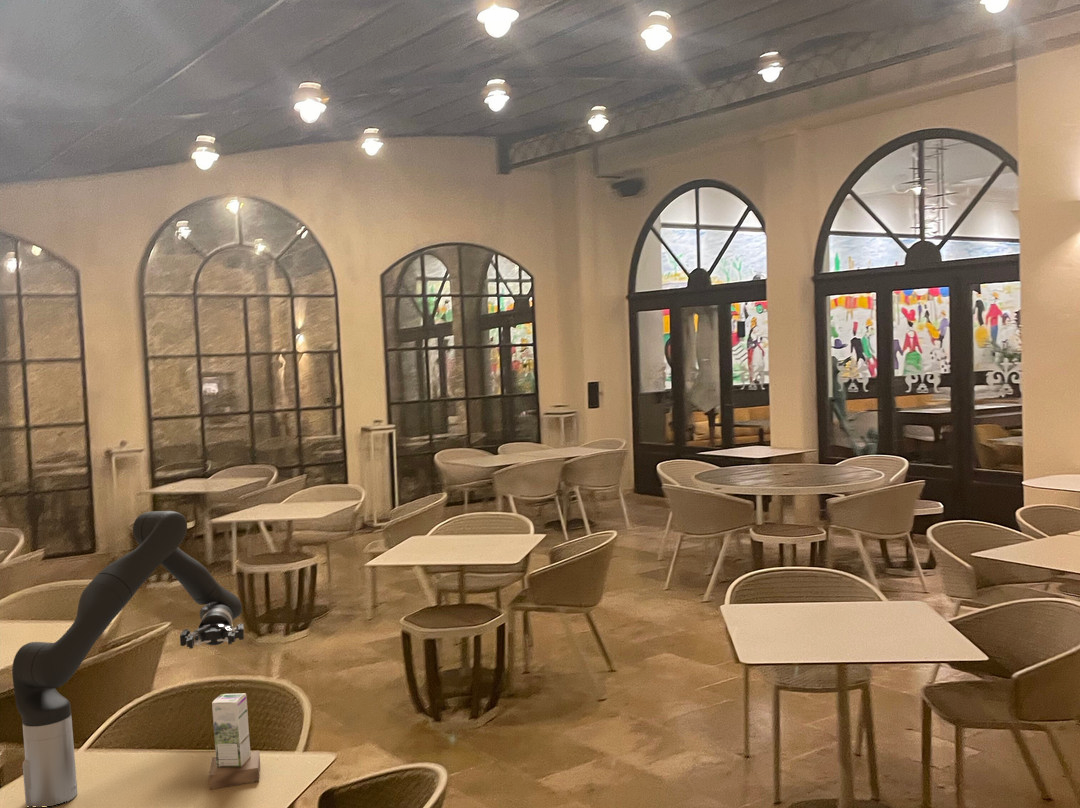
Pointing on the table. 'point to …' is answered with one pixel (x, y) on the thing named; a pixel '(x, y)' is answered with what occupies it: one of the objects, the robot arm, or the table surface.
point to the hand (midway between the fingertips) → (210, 642)
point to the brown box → (235, 772)
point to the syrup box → (231, 730)
